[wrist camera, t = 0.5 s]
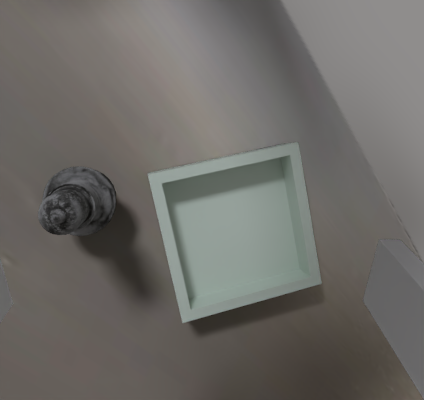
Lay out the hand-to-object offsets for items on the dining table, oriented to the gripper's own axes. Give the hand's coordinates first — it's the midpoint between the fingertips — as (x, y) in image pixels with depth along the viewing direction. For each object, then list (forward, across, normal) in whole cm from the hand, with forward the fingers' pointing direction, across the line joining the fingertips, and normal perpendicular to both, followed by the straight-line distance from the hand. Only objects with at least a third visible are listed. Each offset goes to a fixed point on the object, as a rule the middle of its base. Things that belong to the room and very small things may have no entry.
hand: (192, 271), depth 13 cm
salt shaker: (+21, -10, -7) cm, 24 cm away
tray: (+21, +4, -10) cm, 24 cm away
